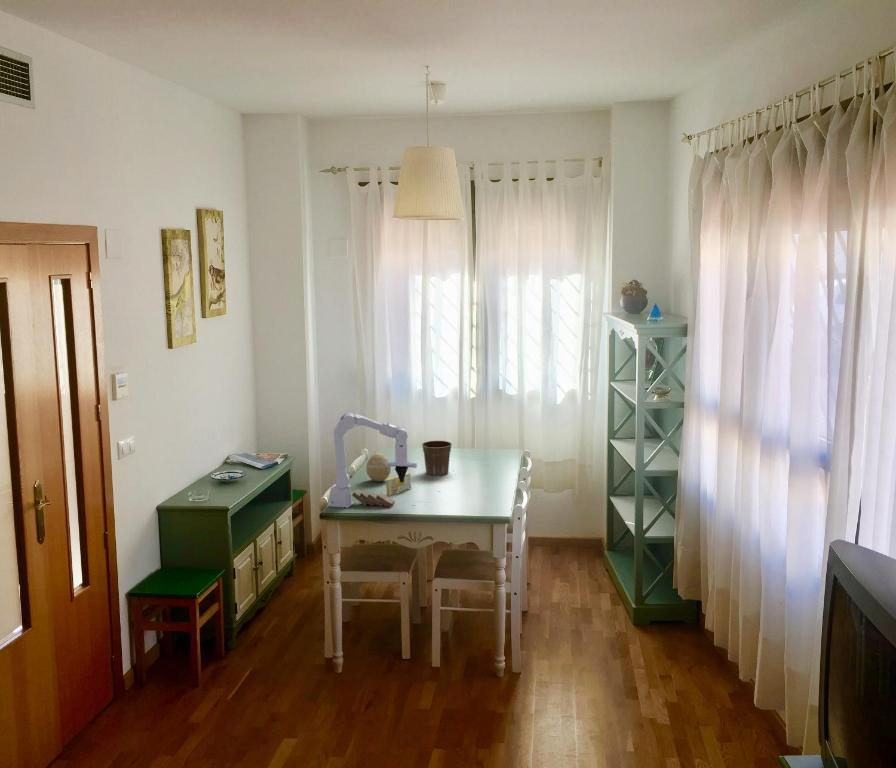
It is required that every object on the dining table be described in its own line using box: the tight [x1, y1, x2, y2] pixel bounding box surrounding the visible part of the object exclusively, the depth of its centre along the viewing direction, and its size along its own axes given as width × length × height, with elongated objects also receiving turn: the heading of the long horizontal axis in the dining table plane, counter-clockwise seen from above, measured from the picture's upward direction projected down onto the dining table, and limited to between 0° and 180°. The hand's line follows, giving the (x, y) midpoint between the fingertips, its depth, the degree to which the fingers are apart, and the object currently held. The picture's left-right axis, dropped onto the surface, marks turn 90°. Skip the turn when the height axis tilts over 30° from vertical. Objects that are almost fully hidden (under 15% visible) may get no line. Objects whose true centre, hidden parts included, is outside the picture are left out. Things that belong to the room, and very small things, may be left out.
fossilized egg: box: [365, 452, 392, 482], centre depth 449 cm, size 13×13×15 cm
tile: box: [359, 490, 377, 507], centre depth 408 cm, size 2×5×8 cm
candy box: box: [385, 472, 412, 496], centre depth 429 cm, size 16×2×8 cm, turn 141°
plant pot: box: [421, 440, 453, 477], centre depth 464 cm, size 16×16×16 cm
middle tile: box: [367, 491, 385, 508], centre depth 407 cm, size 2×5×8 cm
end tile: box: [351, 489, 369, 506], centre depth 409 cm, size 2×5×8 cm
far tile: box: [376, 492, 396, 508], centre depth 406 cm, size 2×5×8 cm
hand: (401, 481), depth 409 cm, fingers closed
